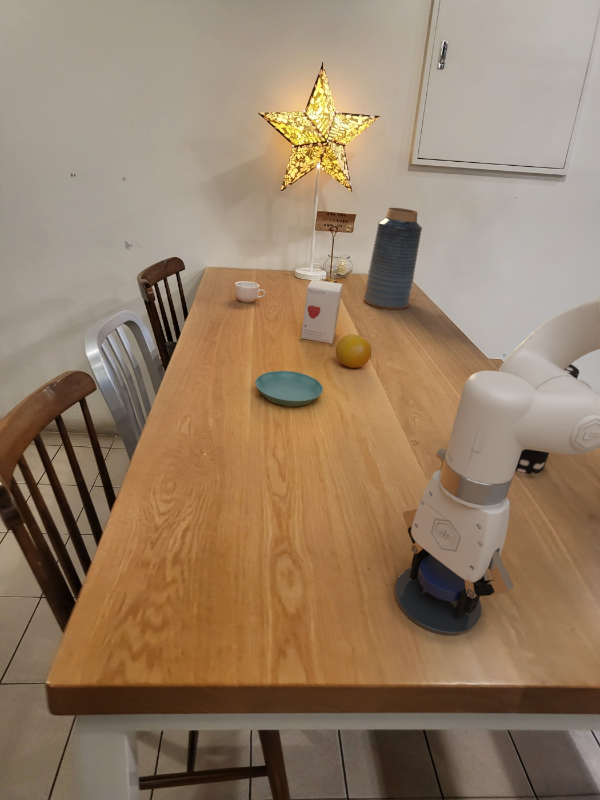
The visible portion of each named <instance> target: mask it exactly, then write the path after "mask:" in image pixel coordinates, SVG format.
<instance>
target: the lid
mask: <svg viewBox="0 0 600 800" xmlns="http://www.w3.org/2000/svg"><path fill="white" fill-rule="evenodd" d="M418 580H419V582H420V584H421V586H422V587H423V588H424V589H425V590H426V592H428V593H429V594H431V595H432V596H434V597H436V598H439V599H441V600H446V601H458V598H459V595H460V593H461V592H462V591H463V590H464V589H465V581H464V579H463V578H461V577H460V576H458V575H457V574H456V573H454V572H453V571H452V570H450V569H449V568H448V567H446V566H445V565H444V564H443V563H441V562H440V561H439V560H437V559H436V558H435V557H434V556H432V555H431V554H429V555H428V556H426V557H424V558H423V559H422V561H421V563H420V566H419V568H418Z"/></svg>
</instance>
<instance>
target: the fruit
mask: <svg viewBox="0 0 600 800" xmlns="http://www.w3.org/2000/svg"><path fill="white" fill-rule="evenodd" d="M335 355H336V358H337V361H338V362H339V363H341V365H343V366H345V367H348V368H351V369H352V368H353V369H357V368H362V367H363V366H365V365H366V364H368V362H369V361H370V360H371V357H372V346H371V344H370V342H369V341H368V340H367V339H366V338H364V337H362V336H361V335H359V334H354V333H353V334H346V335H344V336H342V337H341V338H340V339H339V340H338V342H337V343H336V346H335Z"/></svg>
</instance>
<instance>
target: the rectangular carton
mask: <svg viewBox="0 0 600 800" xmlns="http://www.w3.org/2000/svg"><path fill="white" fill-rule="evenodd" d="M309 282H310V283H309V284H308V285H307V288H306V296H305V302H304V303H305V304H304V311H303V319H302V320H303V321H302V329H301V335H300V338H301V339H302V340H308V341H312V342H313V341H314V342H319V343H320V342H321V343H325V344H333V342H334V339H335V336H336V332H337V326H338V319H339V313H340V305H341V299H342V294H343V293H342V292H343V287H344V284H343V283H339V282H332V281H328V280H320V279H313V278H312V279H311V281H309Z"/></svg>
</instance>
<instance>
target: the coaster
mask: <svg viewBox="0 0 600 800" xmlns="http://www.w3.org/2000/svg"><path fill="white" fill-rule="evenodd" d="M411 569H412V567H410V568H408V569H406V570H404V571H403V572H401V573H400V575H399V576H398V577H397V579H396V581H395V586H394V595H395V596H394V598H395V601H396V603H397V605H398V607H399V609H400V610H401V611H402V613H403V614H404V615H405V616H406V617H407V619H409V621H411V622H413V624H414V625H417V626H418V627H420V628H421V629H424V630H425V631H428V632H430V633H434V634H437V635H442V636H451V637H452V636H460V635H465V634H466V633H469V632H470V631H472V630H474V628H476V627H477V625H478V624H479V622H480V619H481V617H482V612H483V611H482V603H481V600H480V599H479V601H478V604H477V606H476V608H475V610H474V611H473V612H472V613H471V614H468V613H465V614H464V615H462V616H461V617H460V618H457V617H456V616H455V615H454V611H455V608H456V605H457V601H446V600H441V599H439V598H436V597H434V596H432V595H431V594H429V593H428V592H426V590H425V589H424V588H423V587H422V586H421V584H420V582H419V580H418V579H416V580H412V579H411V578H410V573H411Z"/></svg>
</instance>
